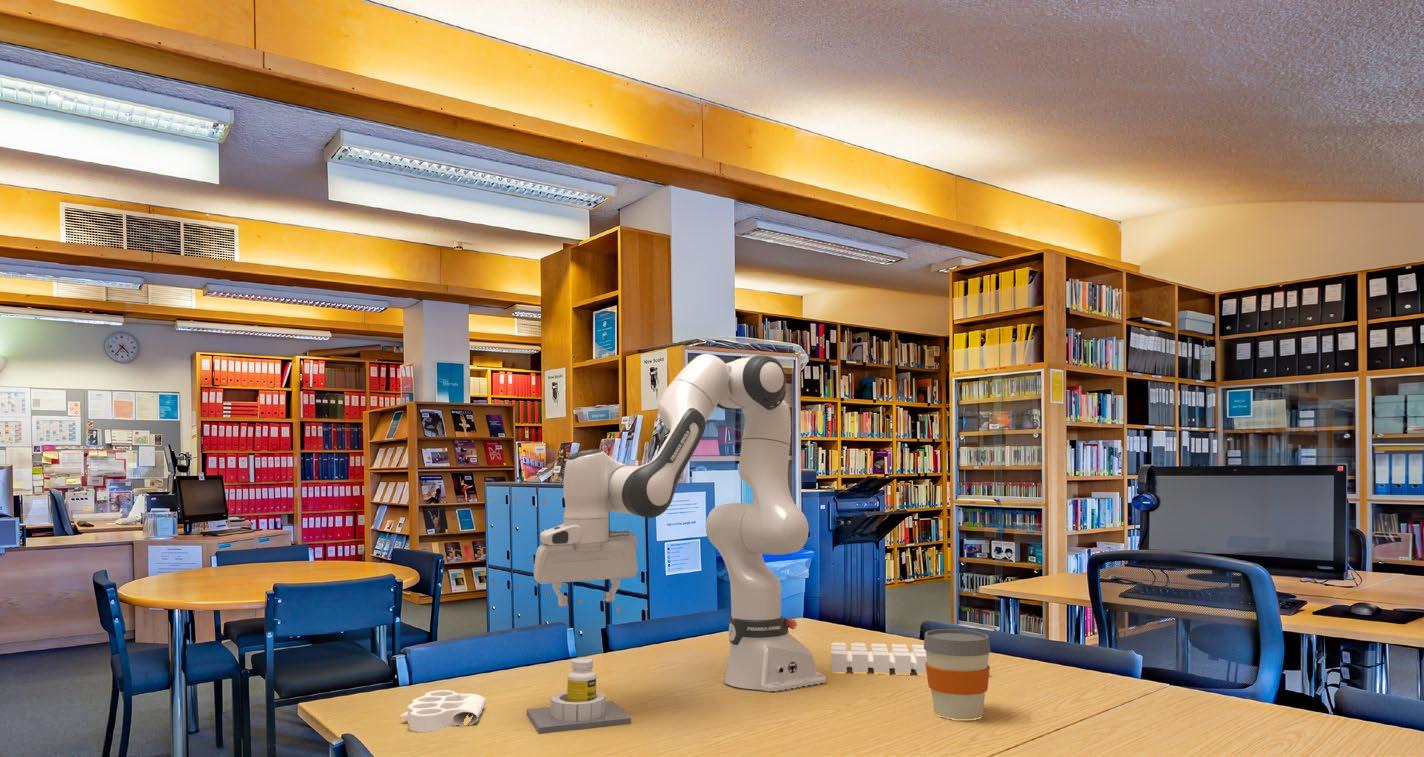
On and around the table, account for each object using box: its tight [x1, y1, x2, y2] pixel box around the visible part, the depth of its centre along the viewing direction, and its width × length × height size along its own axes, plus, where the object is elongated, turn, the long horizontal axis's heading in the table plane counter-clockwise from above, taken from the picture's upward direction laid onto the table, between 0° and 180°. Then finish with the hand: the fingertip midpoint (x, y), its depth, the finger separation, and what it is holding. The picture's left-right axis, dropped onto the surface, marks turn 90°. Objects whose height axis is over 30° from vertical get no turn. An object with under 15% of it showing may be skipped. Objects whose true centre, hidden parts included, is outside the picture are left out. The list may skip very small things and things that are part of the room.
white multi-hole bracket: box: [398, 689, 487, 733], centre depth 170 cm, size 3×18×15 cm
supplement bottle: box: [566, 657, 597, 702], centre depth 170 cm, size 5×5×10 cm
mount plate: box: [526, 691, 632, 734], centre depth 170 cm, size 17×13×4 cm
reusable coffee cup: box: [923, 628, 992, 719], centre depth 174 cm, size 13×13×15 cm
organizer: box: [830, 642, 927, 674], centre depth 211 cm, size 13×5×35 cm
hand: (586, 603), depth 176 cm, fingers open, 8 cm apart
